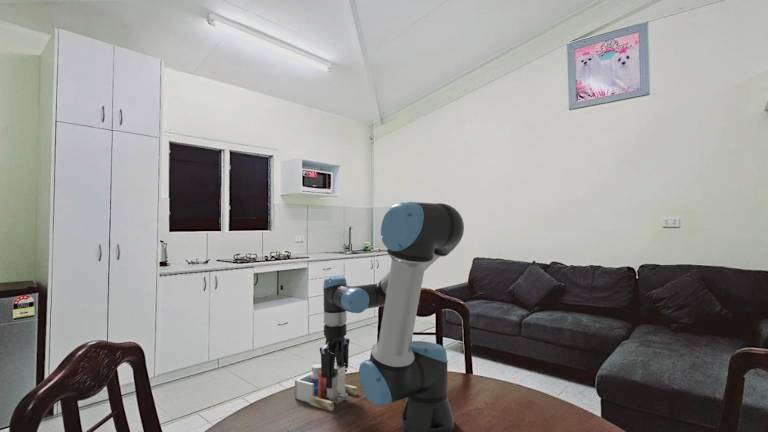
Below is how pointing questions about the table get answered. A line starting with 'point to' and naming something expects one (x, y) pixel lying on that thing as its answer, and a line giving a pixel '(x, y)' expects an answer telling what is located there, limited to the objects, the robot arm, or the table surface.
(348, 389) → the lane rails
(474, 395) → the table surface
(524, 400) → the table surface
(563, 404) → the table surface
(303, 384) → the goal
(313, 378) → the pill bottle
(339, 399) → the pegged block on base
